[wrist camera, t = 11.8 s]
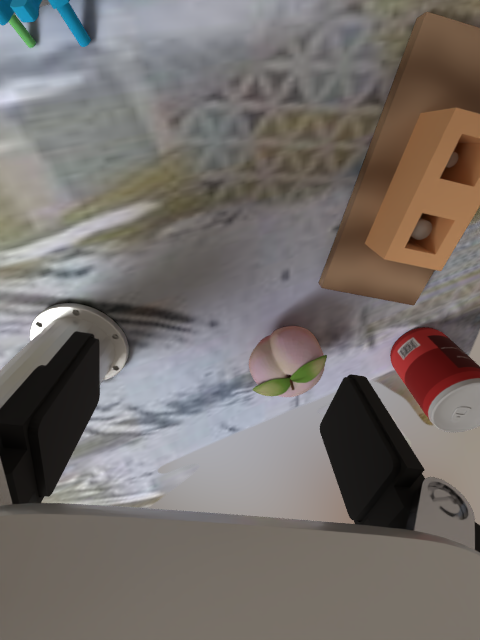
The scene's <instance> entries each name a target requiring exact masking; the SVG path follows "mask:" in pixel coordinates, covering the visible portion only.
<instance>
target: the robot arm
mask: <svg viewBox="0 0 480 640" xmlns="http://www.w3.org/2000/svg"><path fill="white" fill-rule="evenodd" d="M30 338H31V341H30V342H29V343H28V344H27V345H26V346H25V347H24V348H23V349H22V350H21V351H20V352H19V353H18V354H16V355H15V356H14V357H13V358H12V359H11V360H10V361H9V362H8V363H7V364H6V365H5V366H4V367H3V368H2V369H1V370H0V640H480V525H478V524H477V523H475V519H474V513H473V510H472V508H471V506H470V504H469V503H468V501H467V500H466V499H465V497H464V496H463V495H462V494H461V493H460V492H459V491H458V490H457V489H456V488H454V487H453V486H452V485H450V484H449V483H447V482H445V481H444V480H442V479H439V478H435V477H428V478H426V479H425V478H424V476H423V475H422V472H423V471H424V468H423V467H422V465H421V463H420V462H419V460H418V459H417V457H416V455H415V454H414V452H413V451H412V449H411V447H410V446H409V444H408V443H407V441H406V440H405V438H404V436H403V435H402V433H401V432H400V430H399V429H398V427H397V425H396V424H395V422H394V421H393V419H392V417H391V416H390V414H389V413H388V411H387V410H386V408H385V406H384V405H383V404H382V402H381V400H380V398H379V397H378V395H377V394H376V392H375V391H374V389H373V387H372V386H371V384H370V383H369V381H368V380H367V378H366V377H364V376H358V375H349V376H348V377H345V378H344V379H343V381H342V382H341V384H340V386H339V388H338V390H337V392H336V395H335V396H334V398H333V400H332V402H331V404H330V406H329V408H328V410H327V412H326V414H325V416H324V418H323V420H322V422H321V424H320V433H321V436H322V439H323V441H324V445H325V447H326V450H327V453H328V456H329V459H330V462H331V465H332V468H333V471H334V474H335V477H336V479H337V482H338V485H339V488H340V491H341V494H342V497H343V500H344V503H345V506H346V509H347V512H348V514H349V516H350V518H351V519H352V520H354V522H355V524H345V523H333V522H321V521H308V520H296V519H284V518H270V517H257V516H245V515H230V514H218V513H205V512H191V511H177V510H162V509H148V508H134V507H120V506H101V505H83V504H64V503H41V501H42V500H43V498H44V496H50V495H51V494H52V492H53V491H54V489H55V487H56V485H57V483H58V481H59V479H60V477H61V475H62V473H63V471H64V469H65V467H66V465H67V463H68V461H69V459H70V457H71V455H72V453H73V451H74V449H75V447H76V445H77V443H78V441H79V440H80V438H81V436H82V434H83V432H84V430H85V428H86V426H87V424H88V422H89V420H90V418H91V416H92V414H93V412H94V410H95V408H96V406H97V404H98V401H99V396H100V385H101V383H102V381H103V380H106V379H109V378H111V377H113V376H115V375H116V374H118V373H119V372H120V371H121V370H122V368H123V367H124V365H125V363H126V362H127V359H128V355H129V346H128V341H127V339H126V336H125V334H124V332H123V331H122V330H121V328H120V327H119V326H118V325H117V324H116V323H115V322H114V321H113V320H112V319H111V318H110V317H108V316H107V315H106V314H104V313H102V312H100V311H98V310H97V309H94V308H91V307H89V306H86V305H81V304H75V303H63V304H57V305H54V306H51V307H49V308H47V309H45V310H44V311H43V312H41V313H40V314H39V315H38V316H37V317H36V318H35V320H34V321H33V323H32V326H31V329H30Z"/></svg>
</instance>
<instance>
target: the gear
mask: <svg viewBox="0 0 480 640" xmlns="http://www.w3.org/2000/svg"><path fill="white" fill-rule="evenodd" d="M69 1H70V0H0V24H1V25H5V24H6V23H8V22H9V23H10V24H11V25H12V27H13V28H14V29H15V30H16V32H17V33H18V34H19V35H20V37H21V38H22V39H23V40H24V42H25V43H26V44H27V45H28V47H29V48H31V47H33V46H35V44H36V42H35V40H34V39H33V38H32V36H31V35H30V34H29V32H28V31H27V30H26V28H25V27H24V26H23V25H22V23H21V22H20V21H19V19H20V20H21V21H22V22H34V21H35V20H36V19H37V18H38V16H39V7H41V6H45V5H48V4H51V6H52V7H53V8H54V9H56V8H57V10H58V11H59V13H60V15H61V16H62V18H63V19H64V21H65V22H66V24H67V26H68V27H69V29H70V30H71V32H72V33H73V35H74V36H75V38H76V40H77V41H78V43H79V44H80V46H82V47H85V46H87V45H88V44H89V43H90V41H91V39H90V37H89V35H88V34H87V32H86V30H85V29H84V27H83V25H82V24H81V22H80V20H79V19H78V17H77V15H76V14H75V12H74V10H73V9H72V7H71V5H70V4H69ZM15 14H16V15H17V16H18V17H19V19H18V18H17V17H16V15H15Z"/></svg>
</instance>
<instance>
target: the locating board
mask: <svg viewBox="0 0 480 640" xmlns="http://www.w3.org/2000/svg"><path fill="white" fill-rule="evenodd" d="M450 108H460V109H464V110H467V111H471V112H475V113H478V114H480V28H478V27H475V26H472V25H469V24H465V23H462V22H459V21H456V20H453V19H449V18H446V17H443V16H440V15H436V14H433V13H430V12H426V13H424V14H423V15H421V16H420V17H418V18H417V19H416V22H415V25H414V28H413V30H412V33H411V36H410V38H409V41H408V44H407V46H406V49H405V52H404V54H403V57H402V60H401V63H400V65H399V68H398V71H397V73H396V76H395V79H394V81H393V84H392V87H391V89H390V92H389V95H388V98H387V100H386V103H385V106H384V108H383V111H382V114H381V116H380V119H379V122H378V124H377V127H376V130H375V133H374V135H373V138H372V141H371V143H370V146H369V149H368V151H367V154H366V157H365V159H364V162H363V165H362V168H361V170H360V173H359V176H358V178H357V181H356V184H355V186H354V189H353V192H352V194H351V197H350V200H349V202H348V205H347V208H346V211H345V213H344V216H343V219H342V221H341V224H340V227H339V229H338V232H337V235H336V237H335V240H334V243H333V246H332V248H331V251H330V254H329V256H328V259H327V262H326V264H325V267H324V270H323V272H322V275H321V278H320V281H319V284H320V286H321V288H325V289H330V290H336V291H341V292H346V293H351V294H357V295H362V296H367V297H372V298H378V299H383V300H388V301H393V302H399V303H404V304H409V305H415V303H416V301H417V299H418V298H419V296H420V294H421V293H422V291H423V289H424V287H425V286H426V284H427V282H428V280H429V279H430V277H431V275H432V274H433V272H434V270H433V269H428V268H424V267H419V266H414V265H409V264H404V263H399V262H395V261H390V260H385V259H383V258H382V257H380V256H379V255H378V254H377V253H376V252H374V251H373V250H372V249H371V248H369V247H368V246H367V245H366V244H365V242H366V239H367V237H368V235H369V232H370V230H371V228H372V225H373V223H374V221H375V218H376V216H377V214H378V211H379V209H380V207H381V204H382V202H383V200H384V197H385V195H386V193H387V190H388V188H389V186H390V183H391V181H392V179H393V176H394V174H395V172H396V169H397V167H398V165H399V162H400V160H401V158H402V155H403V153H404V151H405V148H406V146H407V144H408V141H409V139H410V137H411V134H412V132H413V130H414V127H415V125H416V123H417V120H418V118H419V116H420V113H424V112H431V111H437V110H443V109H450ZM457 144H458V143H457ZM456 146H457V145H456ZM455 148H456V147H455ZM454 150H455V149H454ZM457 161H458V154H457V153H456V152H454V151H453V153H452V155H451V157H450V159H449V161H448V163H447V165H446V167H448V168H450V167H453V166H454V165H455V164H456V163H457ZM446 167H445V168H446ZM444 170H445V169H444ZM443 172H444V171H443ZM442 174H443V173H442ZM441 176H442V175H441ZM440 178H441V177H440ZM422 214H423V213H422ZM422 214H421V216H422ZM421 216H420V218H419V220H418V222H417V224H416V226H415V228H414V230H413V232H412V234H411V236H410V237H413V238H415V239H417V240H422V239H425V238H426V237H428V236H429V234H430V233H431V231H432V224H431V223H430V222H429V221H426V220H424V219H422V218H421ZM409 239H410V238H409Z"/></svg>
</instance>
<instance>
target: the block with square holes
mask: <svg viewBox="0 0 480 640" xmlns="http://www.w3.org/2000/svg"><path fill="white" fill-rule="evenodd" d="M457 143H458V144H457ZM456 145H457V146H456ZM455 147H456V148H455ZM454 149H455V150H454ZM453 151H454V152H456V153H457V154H458V161H457V163H456V164H455V165H454V166H453V167H450V168H448V167H446V165H447V163H448V161H449V159H450V157H451V155H452V153H453ZM445 167H446V168H445ZM444 169H445V170H444ZM443 171H444V172H443ZM442 173H443V174H442ZM441 175H442V176H441ZM440 177H441V178H440ZM479 206H480V114H478V113H475V112H471V111H467V110H464V109H460V108H450V109H443V110H437V111H431V112H424V113H420V116H419V118H418V120H417V123H416V125H415V127H414V130H413V132H412V134H411V137H410V139H409V141H408V144H407V146H406V148H405V151H404V153H403V155H402V158H401V160H400V162H399V165H398V167H397V169H396V172H395V174H394V176H393V179H392V181H391V183H390V186H389V188H388V190H387V193H386V195H385V197H384V200H383V202H382V204H381V207H380V209H379V211H378V214H377V216H376V218H375V221H374V223H373V225H372V228H371V230H370V232H369V235H368V237H367V239H366V242H365V244H366V245H367V246H368V247H369V248H371V249H372V250H373V251H374V252H376V253H377V254H378V255H379V256H380V257H382V258H383V259H385V260H390V261H395V262H399V263H404V264H409V265H414V266H419V267H424V268H428V269H433V270H438V271H441V270H442V269H443V267H444V265H445V264H446V262H447V260H448V259H449V257H450V255H451V253H452V252H453V250H454V248H455V247H456V245H457V243H458V242H459V240H460V238H461V237H462V235H463V233H464V232H465V230H466V228H467V226H468V225H469V223H470V221H471V220H472V218H473V216H474V215H475V213H476V211H477V210H478V208H479ZM422 213H423V214H422ZM421 214H422V216H421ZM420 216H421V218H422V219H424V220H426V221H429V222H430V223H431V224H432V231H431V233H430V234H429V236H428V237H426V238H425V239H422V240H417V239H415V238H413V237H410V236H411V234H412V232H413V230H414V228H415V226H416V224H417V222H418V220H419V218H420ZM409 238H410V239H409Z"/></svg>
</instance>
